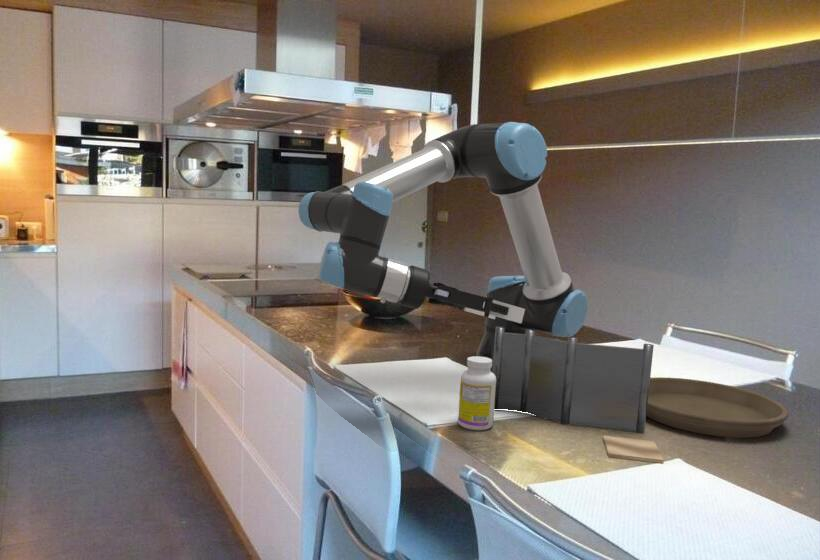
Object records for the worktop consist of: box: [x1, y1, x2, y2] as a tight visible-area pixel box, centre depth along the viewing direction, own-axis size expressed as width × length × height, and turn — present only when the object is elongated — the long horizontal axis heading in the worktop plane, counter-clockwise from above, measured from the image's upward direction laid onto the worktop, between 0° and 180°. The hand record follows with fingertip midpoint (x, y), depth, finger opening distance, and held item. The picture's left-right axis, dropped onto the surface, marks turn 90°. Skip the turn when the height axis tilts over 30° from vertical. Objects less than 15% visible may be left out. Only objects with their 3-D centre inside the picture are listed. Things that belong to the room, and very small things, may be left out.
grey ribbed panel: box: [491, 327, 654, 434], centre depth 134 cm, size 6×30×17 cm, turn 80°
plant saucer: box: [646, 376, 789, 439], centre depth 143 cm, size 31×31×5 cm
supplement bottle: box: [457, 355, 496, 431], centre depth 128 cm, size 7×7×13 cm
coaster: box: [602, 435, 665, 464], centre depth 120 cm, size 9×9×1 cm
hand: (508, 314), depth 129 cm, fingers open, 13 cm apart
